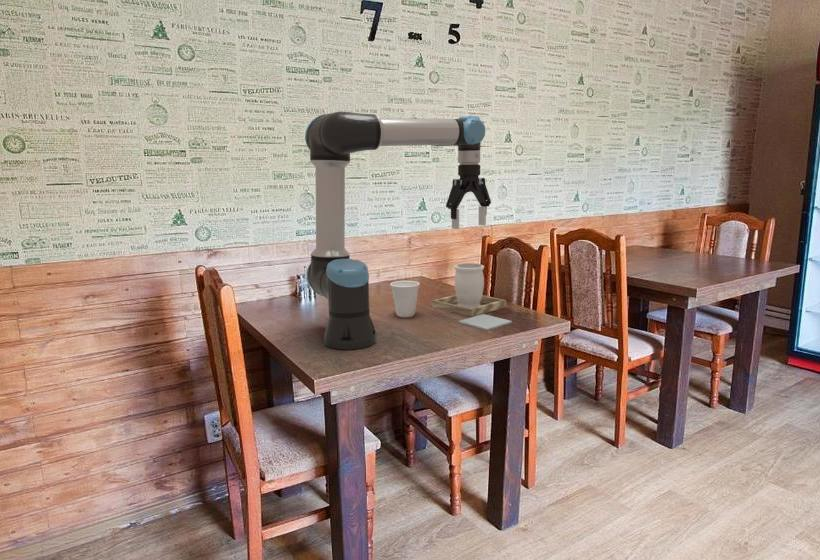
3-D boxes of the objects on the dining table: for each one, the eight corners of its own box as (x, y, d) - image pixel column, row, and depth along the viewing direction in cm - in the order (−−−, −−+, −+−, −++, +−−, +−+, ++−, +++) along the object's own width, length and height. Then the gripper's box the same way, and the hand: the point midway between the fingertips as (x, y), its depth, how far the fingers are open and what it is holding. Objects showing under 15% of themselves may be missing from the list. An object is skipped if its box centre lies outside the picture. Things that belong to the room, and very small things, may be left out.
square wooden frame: (470, 317, 183) (470, 309, 183) (432, 307, 197) (432, 300, 196) (506, 307, 195) (506, 300, 195) (467, 298, 209) (467, 291, 208)
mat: (487, 330, 168) (487, 328, 168) (458, 322, 177) (458, 321, 177) (512, 322, 176) (512, 321, 176) (483, 315, 185) (483, 313, 185)
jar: (485, 310, 191) (485, 268, 188) (455, 311, 191) (455, 268, 188) (482, 303, 201) (482, 262, 198) (453, 303, 201) (453, 263, 198)
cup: (417, 319, 181) (416, 287, 179) (387, 318, 183) (387, 286, 181) (422, 312, 191) (422, 280, 189) (394, 311, 193) (393, 280, 191)
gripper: (451, 164, 175) (451, 231, 180) (501, 163, 191) (500, 224, 196) (434, 164, 181) (435, 229, 185) (485, 163, 197) (484, 223, 201)
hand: (469, 227), depth 190 cm, fingers open, 13 cm apart
